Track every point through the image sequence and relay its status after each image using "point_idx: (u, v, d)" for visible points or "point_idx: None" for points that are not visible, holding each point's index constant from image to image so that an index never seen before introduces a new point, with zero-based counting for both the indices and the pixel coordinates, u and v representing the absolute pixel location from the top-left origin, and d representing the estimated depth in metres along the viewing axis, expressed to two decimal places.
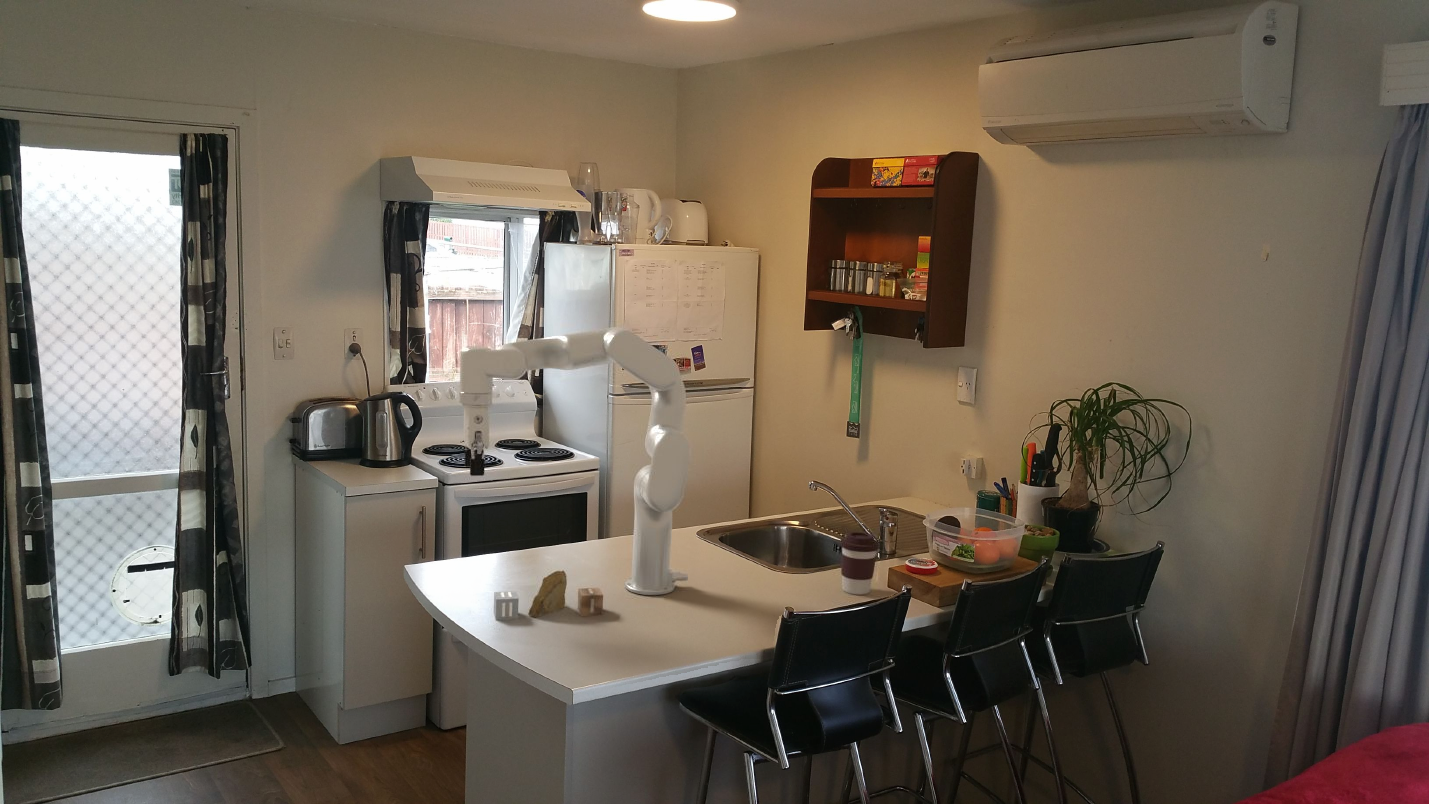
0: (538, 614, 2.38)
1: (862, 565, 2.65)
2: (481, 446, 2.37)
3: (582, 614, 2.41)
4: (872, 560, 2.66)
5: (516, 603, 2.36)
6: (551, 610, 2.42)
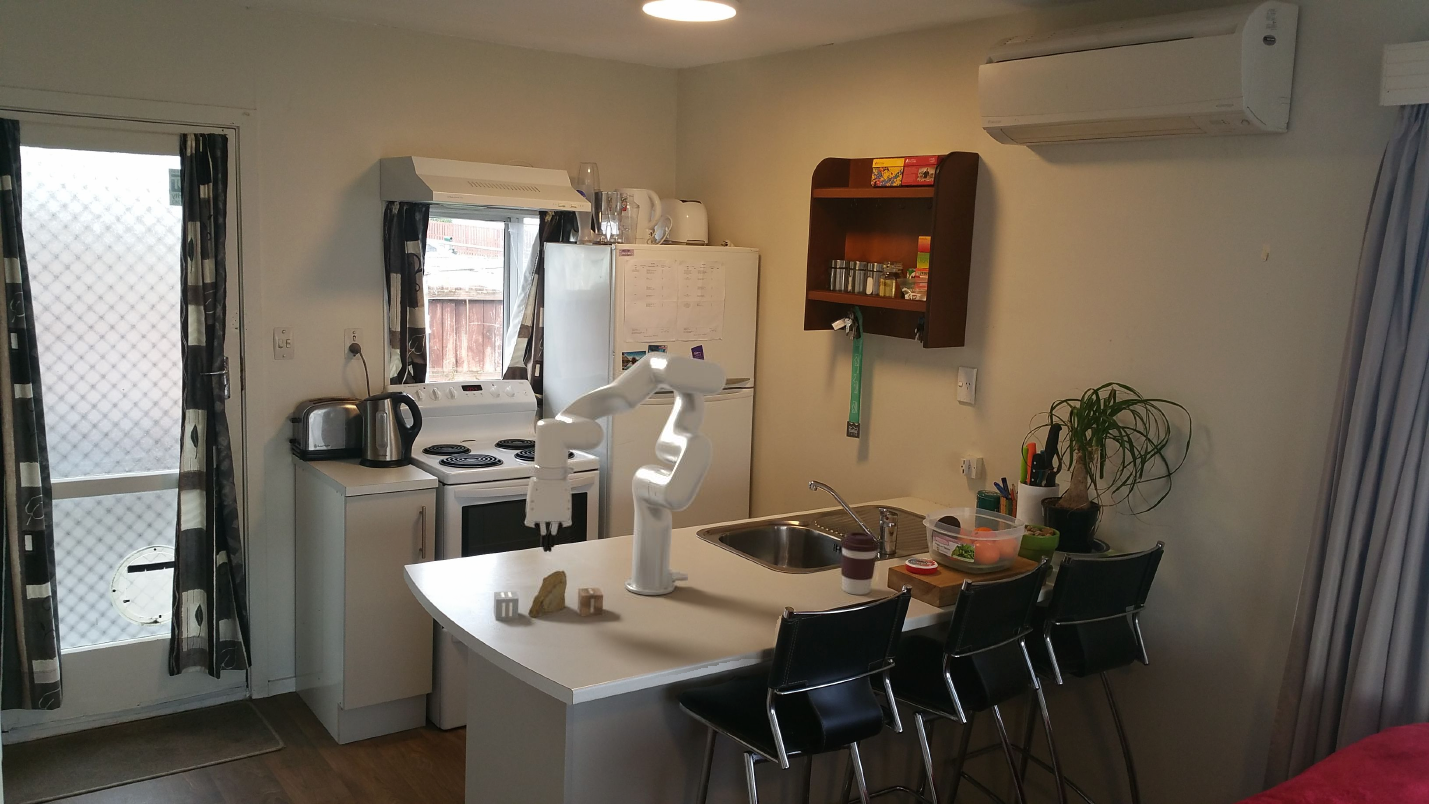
0: (538, 614, 2.38)
1: (862, 565, 2.65)
2: None
3: (582, 614, 2.41)
4: (872, 560, 2.66)
5: (516, 603, 2.36)
6: (551, 610, 2.42)
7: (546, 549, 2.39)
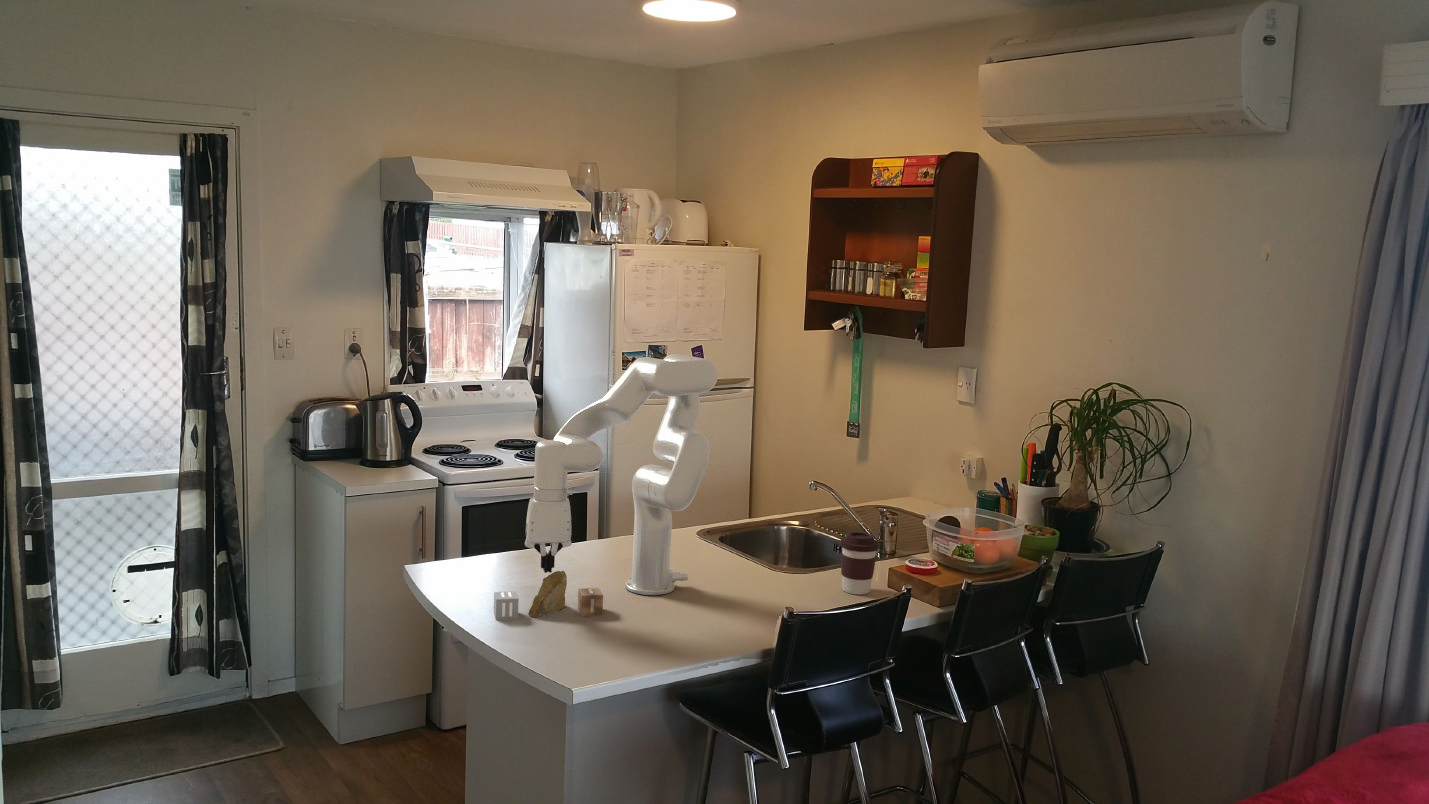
0: (538, 614, 2.38)
1: (862, 565, 2.65)
2: None
3: (582, 614, 2.41)
4: (872, 560, 2.66)
5: (516, 603, 2.36)
6: (551, 610, 2.42)
7: (546, 570, 2.40)
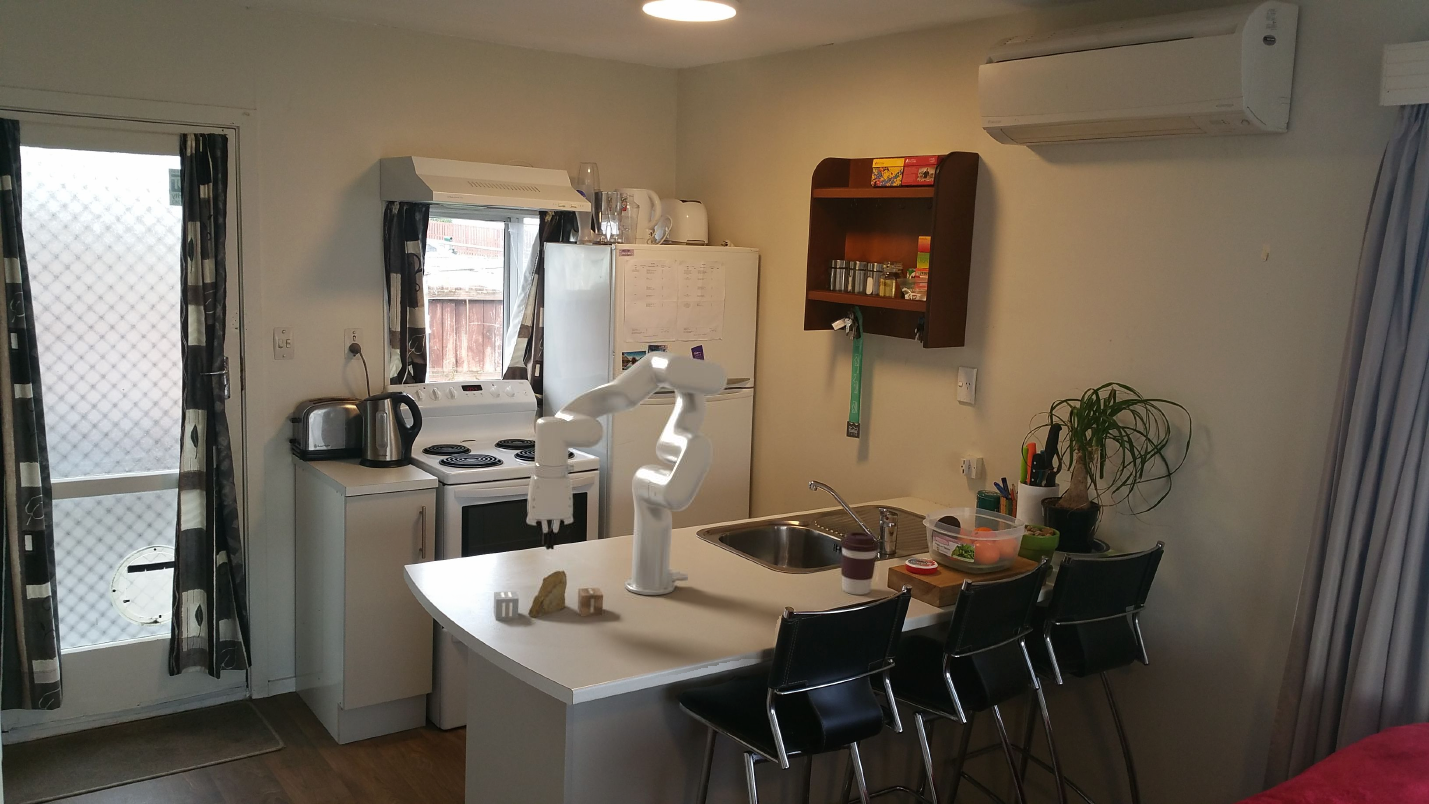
0: (538, 614, 2.38)
1: (862, 565, 2.65)
2: None
3: (582, 614, 2.41)
4: (872, 560, 2.66)
5: (516, 603, 2.36)
6: (551, 610, 2.42)
7: (548, 547, 2.39)
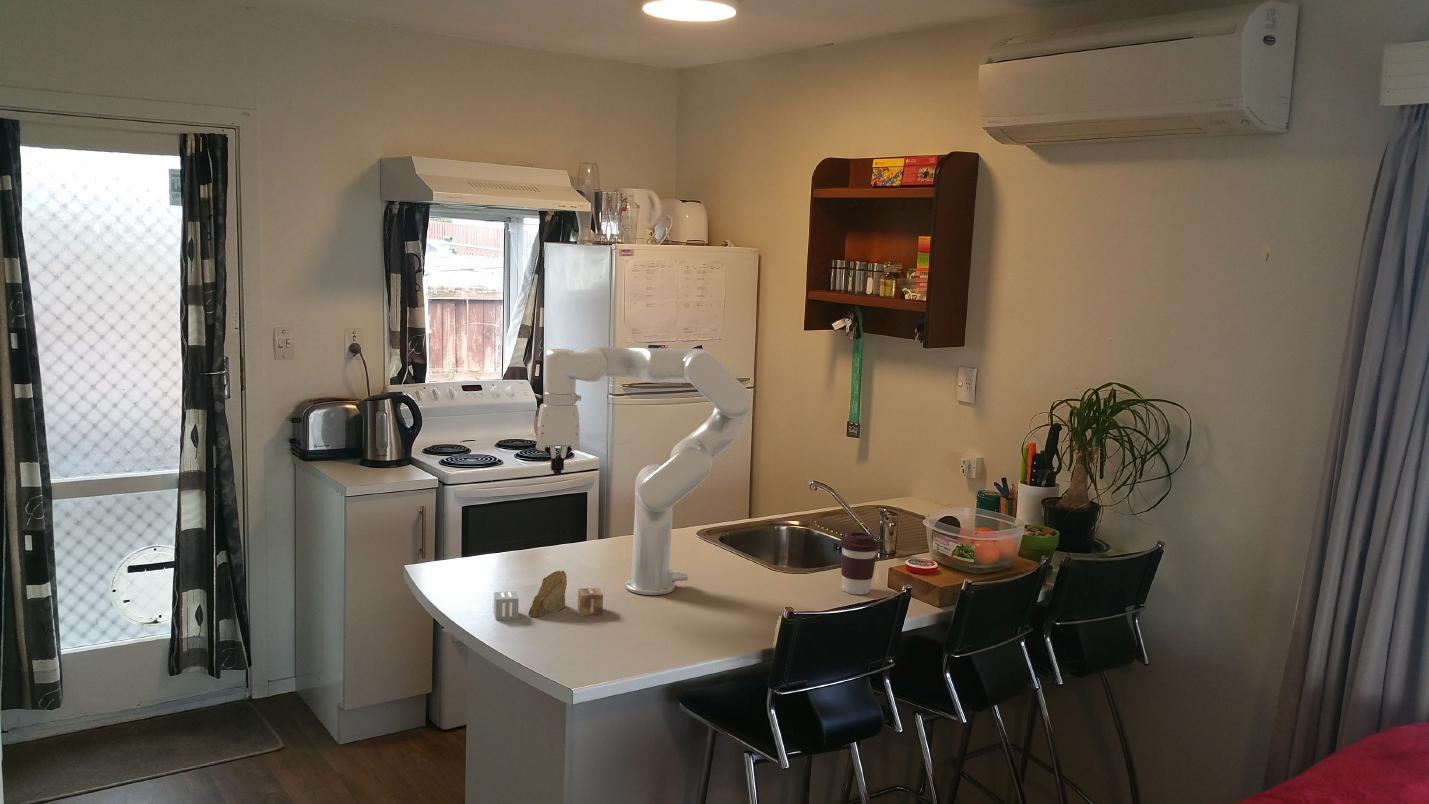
0: (538, 614, 2.38)
1: (862, 565, 2.65)
2: None
3: (582, 614, 2.41)
4: (872, 560, 2.66)
5: (516, 603, 2.36)
6: (551, 610, 2.42)
7: (556, 472, 2.54)
